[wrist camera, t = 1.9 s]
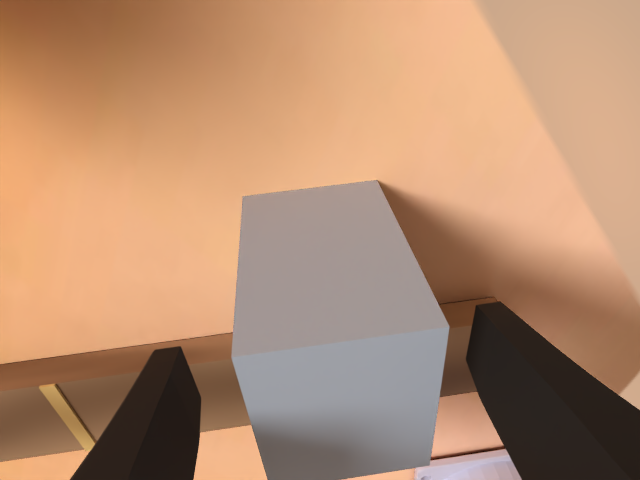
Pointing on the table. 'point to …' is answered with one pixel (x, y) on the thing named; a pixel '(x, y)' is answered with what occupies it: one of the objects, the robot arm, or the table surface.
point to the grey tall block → (335, 335)
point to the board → (122, 371)
